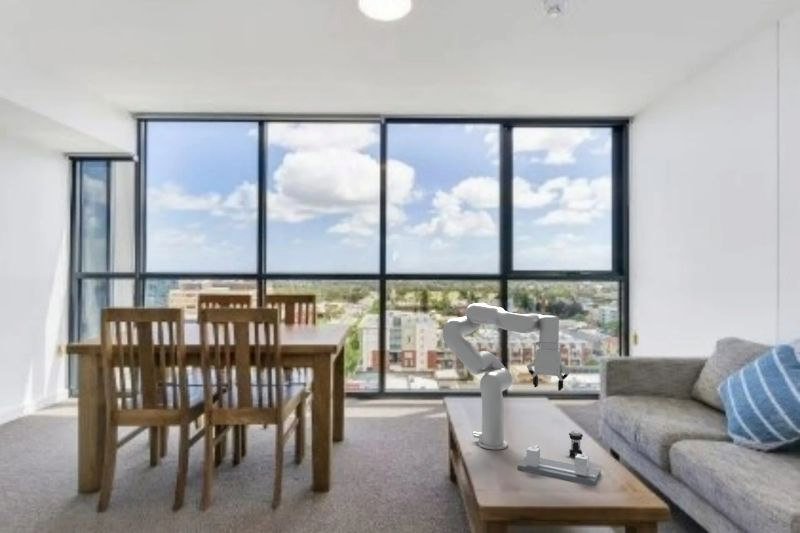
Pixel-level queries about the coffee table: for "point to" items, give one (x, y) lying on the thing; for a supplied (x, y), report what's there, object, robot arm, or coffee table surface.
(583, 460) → the sliding block
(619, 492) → the coffee table surface
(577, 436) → the push button
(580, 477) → the plate
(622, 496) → the coffee table surface
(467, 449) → the coffee table surface
